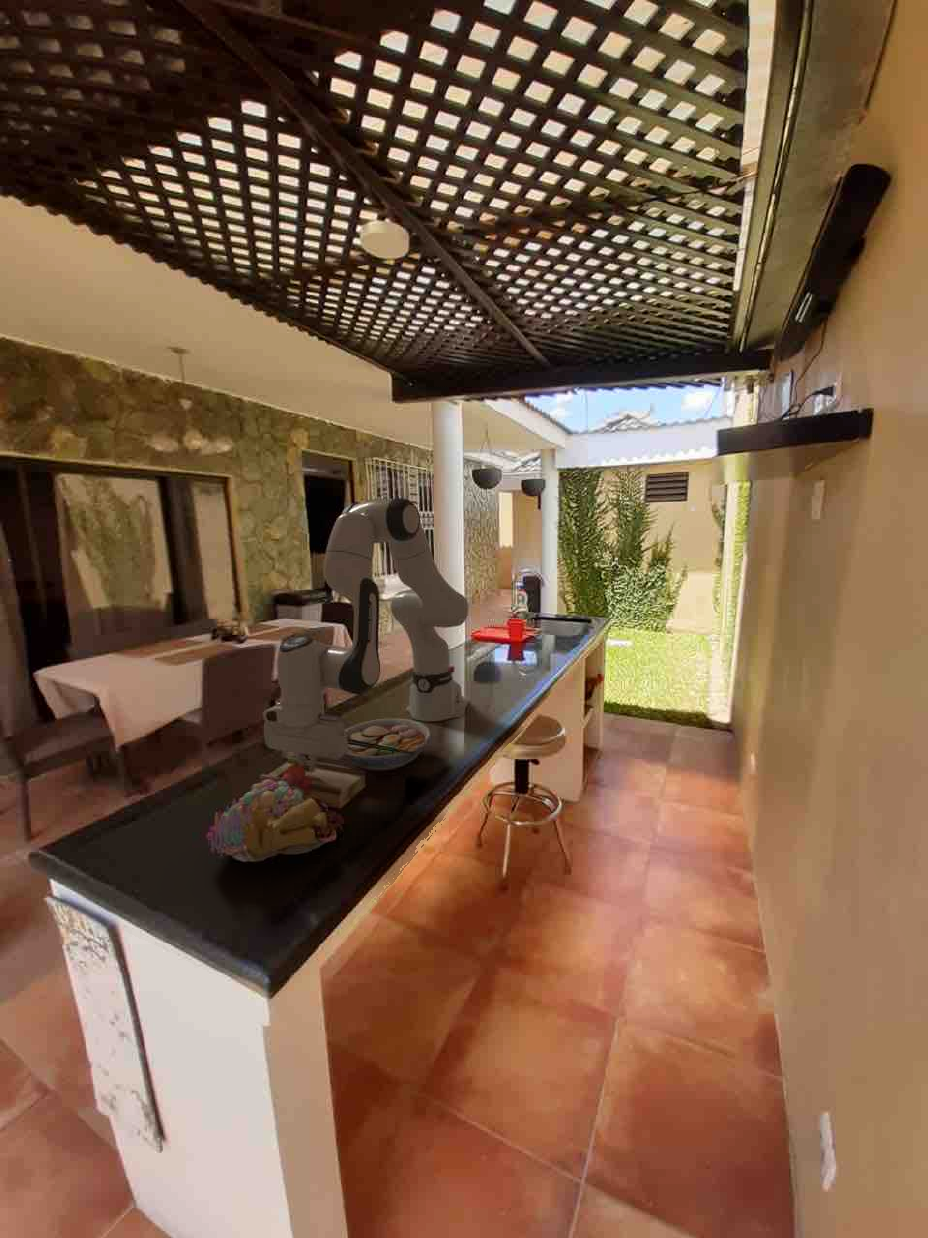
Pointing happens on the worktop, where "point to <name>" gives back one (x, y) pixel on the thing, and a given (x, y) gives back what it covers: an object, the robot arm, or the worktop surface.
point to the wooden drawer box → (326, 782)
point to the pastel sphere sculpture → (274, 821)
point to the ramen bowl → (385, 743)
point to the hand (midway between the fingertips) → (308, 770)
